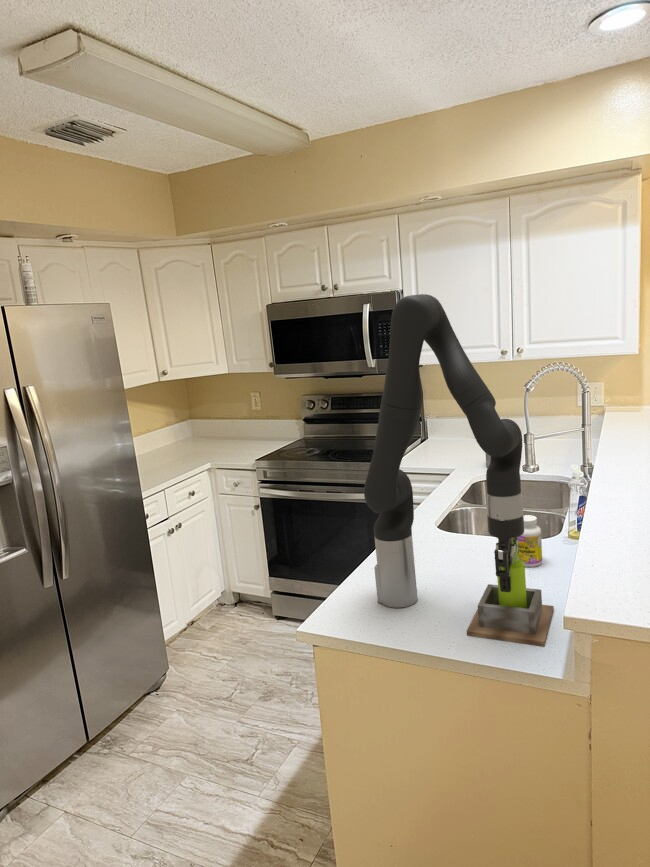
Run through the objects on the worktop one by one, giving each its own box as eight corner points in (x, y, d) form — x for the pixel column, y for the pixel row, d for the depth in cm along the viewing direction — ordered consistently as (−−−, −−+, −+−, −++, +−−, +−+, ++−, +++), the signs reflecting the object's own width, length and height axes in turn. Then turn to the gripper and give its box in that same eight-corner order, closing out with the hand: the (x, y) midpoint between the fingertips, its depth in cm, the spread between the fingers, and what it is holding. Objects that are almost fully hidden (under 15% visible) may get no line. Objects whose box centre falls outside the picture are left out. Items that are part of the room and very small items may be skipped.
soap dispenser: (502, 609, 138) (496, 526, 135) (531, 615, 134) (527, 530, 131) (491, 620, 134) (485, 534, 131) (521, 627, 130) (516, 539, 126)
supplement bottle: (512, 565, 163) (510, 520, 160) (521, 556, 168) (519, 512, 166) (537, 569, 159) (535, 523, 156) (545, 560, 164) (544, 515, 161)
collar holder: (466, 635, 131) (465, 609, 130) (483, 601, 145) (481, 578, 144) (544, 646, 124) (543, 619, 122) (553, 610, 137) (552, 585, 136)
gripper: (494, 501, 137) (498, 568, 140) (479, 522, 125) (484, 596, 128) (528, 502, 134) (531, 571, 137) (517, 524, 121) (521, 600, 125)
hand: (509, 583), depth 132 cm, fingers open, 7 cm apart
